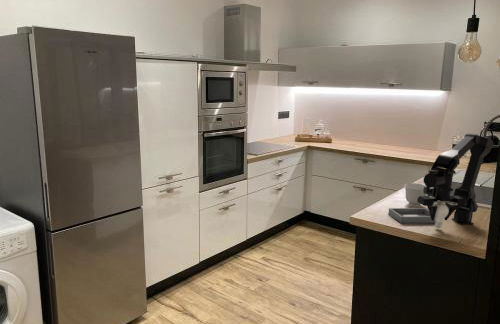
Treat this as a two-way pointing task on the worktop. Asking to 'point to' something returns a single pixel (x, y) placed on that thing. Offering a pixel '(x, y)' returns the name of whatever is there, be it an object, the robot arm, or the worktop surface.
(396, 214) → the tray
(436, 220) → the lightbulb
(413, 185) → the teacup
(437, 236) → the worktop surface
